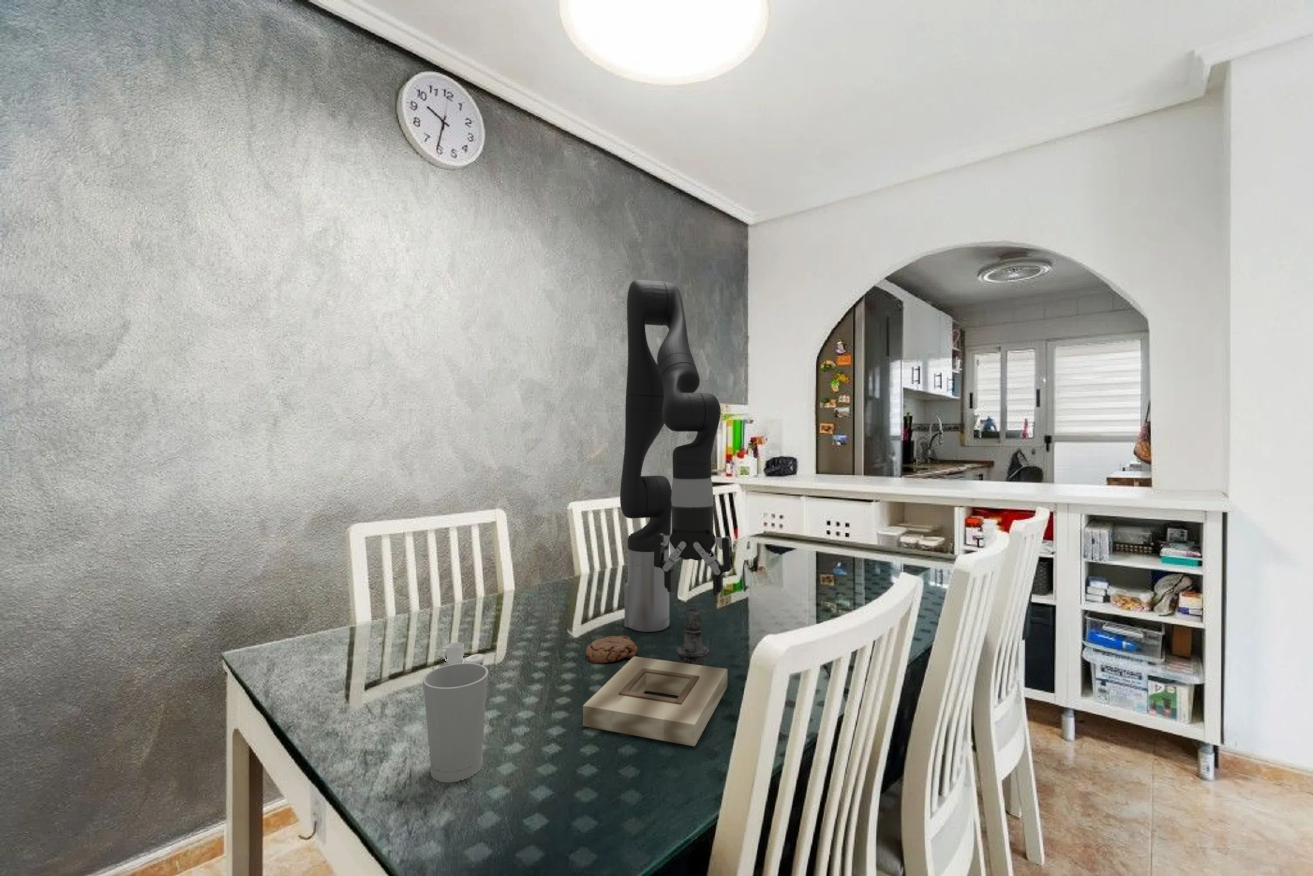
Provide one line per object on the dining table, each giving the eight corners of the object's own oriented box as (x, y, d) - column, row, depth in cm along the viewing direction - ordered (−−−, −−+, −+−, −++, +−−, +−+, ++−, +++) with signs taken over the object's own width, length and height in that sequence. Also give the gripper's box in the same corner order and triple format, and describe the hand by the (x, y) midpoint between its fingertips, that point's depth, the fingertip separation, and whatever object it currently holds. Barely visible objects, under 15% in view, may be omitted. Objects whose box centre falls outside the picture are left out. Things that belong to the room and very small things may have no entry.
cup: (434, 752, 79) (433, 663, 79) (494, 749, 80) (493, 661, 80) (414, 788, 71) (414, 689, 71) (481, 784, 72) (481, 687, 72)
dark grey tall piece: (707, 677, 103) (706, 609, 103) (674, 674, 104) (673, 607, 104) (710, 664, 109) (710, 599, 109) (679, 662, 110) (679, 598, 110)
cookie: (574, 661, 112) (574, 645, 112) (603, 642, 121) (603, 628, 121) (620, 670, 107) (620, 653, 107) (646, 650, 117) (646, 635, 117)
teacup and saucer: (490, 663, 111) (490, 641, 111) (460, 679, 104) (459, 656, 104) (455, 656, 115) (454, 635, 115) (423, 671, 108) (423, 648, 107)
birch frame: (583, 726, 86) (583, 703, 86) (633, 673, 105) (633, 654, 105) (694, 746, 81) (694, 722, 81) (727, 686, 99) (727, 667, 99)
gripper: (735, 502, 108) (736, 590, 108) (661, 500, 112) (662, 585, 112) (726, 506, 101) (727, 601, 100) (648, 504, 105) (649, 595, 105)
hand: (693, 592), depth 106 cm, fingers open, 8 cm apart
